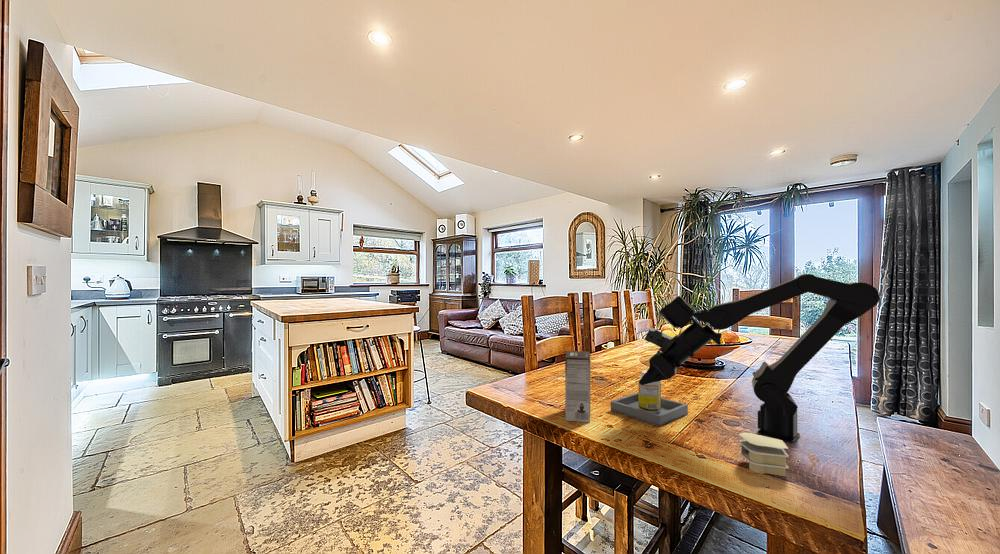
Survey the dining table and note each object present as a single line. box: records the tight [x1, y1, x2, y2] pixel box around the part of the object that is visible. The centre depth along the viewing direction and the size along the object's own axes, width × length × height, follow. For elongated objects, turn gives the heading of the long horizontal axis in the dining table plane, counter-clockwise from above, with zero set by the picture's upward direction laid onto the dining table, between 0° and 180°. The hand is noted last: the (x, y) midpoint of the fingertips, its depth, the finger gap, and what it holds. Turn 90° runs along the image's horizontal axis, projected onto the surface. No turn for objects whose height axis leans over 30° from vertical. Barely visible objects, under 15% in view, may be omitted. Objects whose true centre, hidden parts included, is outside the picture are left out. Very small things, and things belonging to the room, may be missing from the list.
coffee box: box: [564, 350, 592, 423], centre depth 96 cm, size 9×6×16 cm
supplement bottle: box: [638, 370, 662, 413], centre depth 98 cm, size 6×6×10 cm
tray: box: [610, 391, 689, 428], centre depth 98 cm, size 14×14×2 cm
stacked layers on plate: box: [738, 432, 790, 477], centre depth 69 cm, size 10×9×6 cm
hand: (643, 379), depth 99 cm, fingers open, 9 cm apart
